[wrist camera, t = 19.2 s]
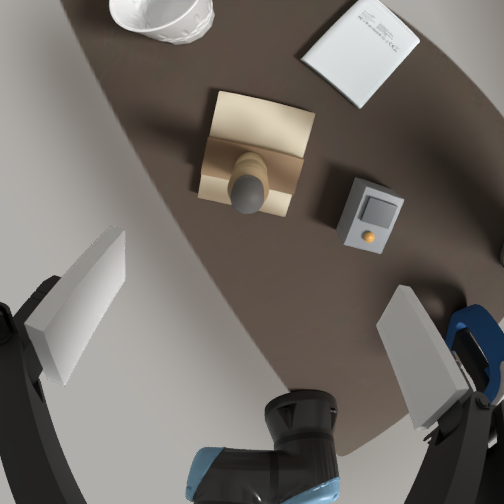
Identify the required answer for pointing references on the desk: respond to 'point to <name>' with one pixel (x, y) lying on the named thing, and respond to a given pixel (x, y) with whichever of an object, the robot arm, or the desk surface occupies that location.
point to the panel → (255, 147)
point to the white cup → (165, 18)
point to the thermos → (502, 256)
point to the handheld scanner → (491, 343)
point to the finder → (368, 216)
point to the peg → (248, 183)
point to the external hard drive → (361, 50)
